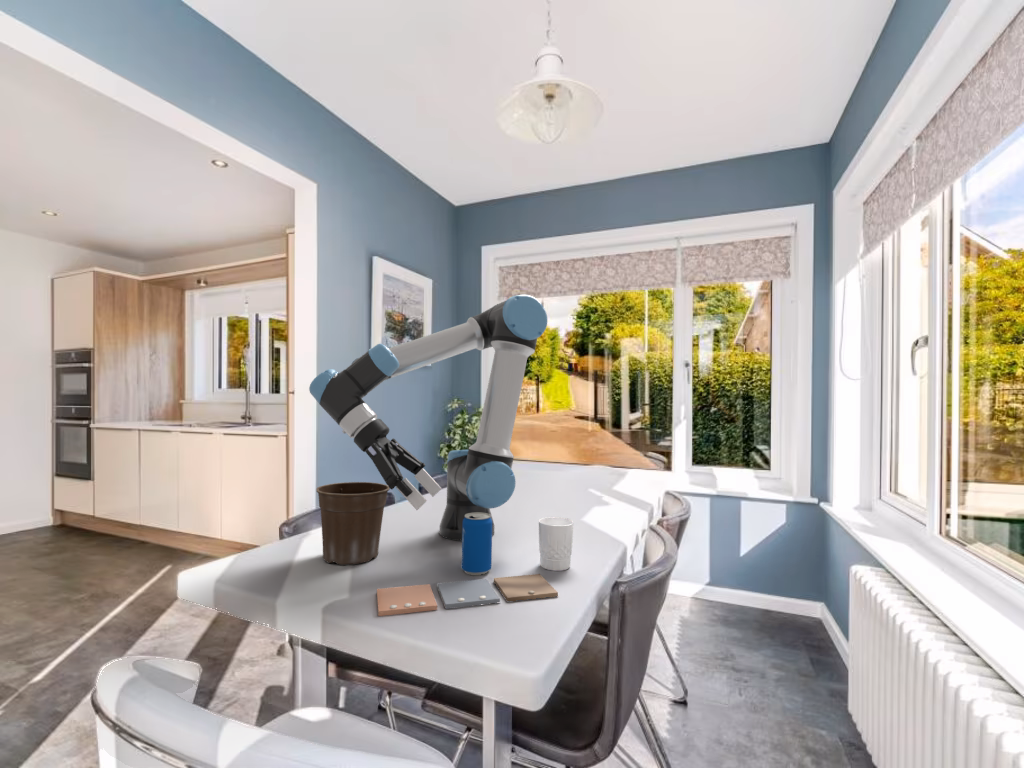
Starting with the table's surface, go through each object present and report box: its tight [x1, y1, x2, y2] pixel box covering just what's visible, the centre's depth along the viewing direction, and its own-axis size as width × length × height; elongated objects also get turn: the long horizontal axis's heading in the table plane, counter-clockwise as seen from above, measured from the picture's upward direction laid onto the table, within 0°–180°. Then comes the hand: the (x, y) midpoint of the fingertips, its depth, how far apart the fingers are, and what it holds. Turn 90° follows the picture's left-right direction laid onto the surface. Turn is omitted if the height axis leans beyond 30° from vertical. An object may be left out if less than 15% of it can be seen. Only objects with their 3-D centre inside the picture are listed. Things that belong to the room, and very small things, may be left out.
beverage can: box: [461, 512, 493, 576], centre depth 105 cm, size 6×6×12 cm
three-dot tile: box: [376, 583, 438, 617], centre depth 89 cm, size 10×10×1 cm
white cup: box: [538, 516, 574, 572], centre depth 110 cm, size 8×8×10 cm
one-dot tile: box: [493, 573, 559, 602], centre depth 96 cm, size 10×10×1 cm
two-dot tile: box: [436, 578, 501, 610], centre depth 92 cm, size 10×10×1 cm
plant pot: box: [315, 481, 391, 566], centre depth 113 cm, size 16×16×16 cm
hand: (430, 498), depth 106 cm, fingers open, 13 cm apart
